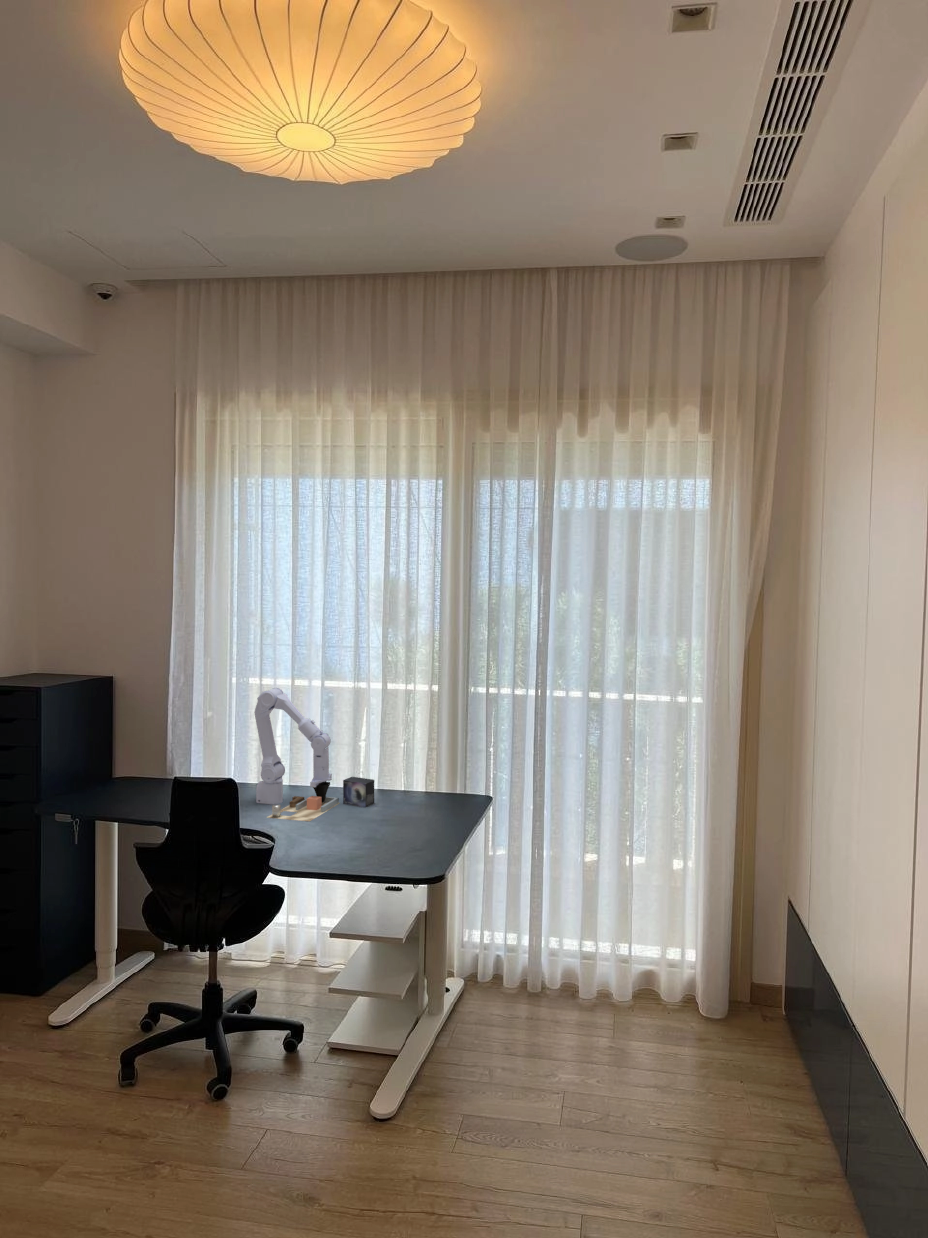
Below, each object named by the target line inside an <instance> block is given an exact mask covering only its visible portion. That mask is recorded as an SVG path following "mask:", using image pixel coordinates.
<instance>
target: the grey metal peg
mask: <svg viewBox="0 0 928 1238" xmlns="http://www.w3.org/2000/svg"><path fill="white" fill-rule="evenodd" d="M281 806H282V805H281V804H271V815H272V817H273V818H272V819H276V818H279V817H281V814H282V812H281V809H282V808H281Z"/></svg>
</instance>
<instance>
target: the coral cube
mask: <svg viewBox="0 0 928 1238" xmlns="http://www.w3.org/2000/svg"><path fill="white" fill-rule="evenodd" d="M306 799H307V809H309V810H318V809H320V808H321V806H322V797H318V796H316V795H311V796H309V797H307V798H306Z"/></svg>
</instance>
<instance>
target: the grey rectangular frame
mask: <svg viewBox="0 0 928 1238" xmlns="http://www.w3.org/2000/svg"><path fill="white" fill-rule="evenodd" d="M339 800H340V799H339V797H333V796H326V797H325V801H324V802H323V803H326V804H325V805H323V806H321V812H325V811H326V810H328V809H330V808H331V807H333V806H335V805H336V804H338V803H340V802H339ZM338 805H339V804H338ZM305 806H307V798H304V800H303V801H301V802H300V803H298V804H296V810H300V809H301V808H303V807H305ZM336 806H337V805H336ZM336 806H335V807H336ZM333 808H334V807H333ZM331 809H332V808H331ZM331 809H330V810H331ZM328 811H329V810H328ZM326 812H327V811H326ZM326 812H325V813H326Z"/></svg>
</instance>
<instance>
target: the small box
mask: <svg viewBox="0 0 928 1238" xmlns="http://www.w3.org/2000/svg"><path fill="white" fill-rule="evenodd" d="M342 785H343V786H342V787H343V789H342V792H343V793H342V794H343V795H342V797H343V798H342V799H343V800H342V801H343V802H342V803H343V805H348V806H354V807H359V808H360V807H361V808H362V807H363V808H368V807H370V806H372V805H375V779H373V778H372V779H371V778H364V777H359V776H358V777H357V776H351V777H348V778H345V779H343V780H342Z"/></svg>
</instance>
